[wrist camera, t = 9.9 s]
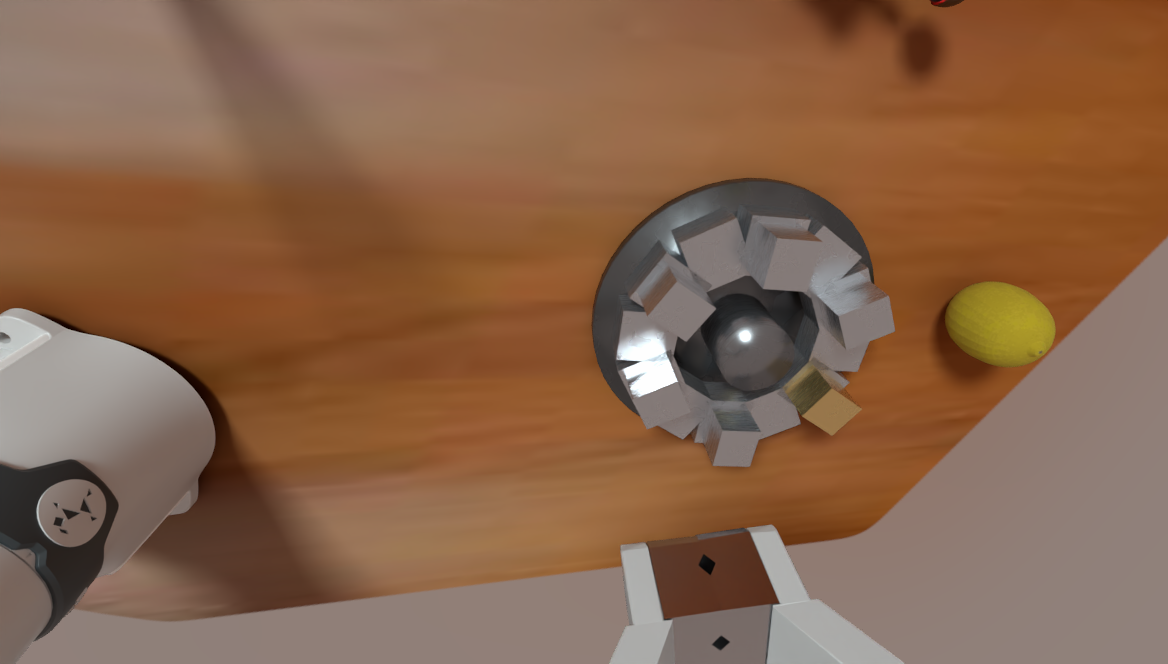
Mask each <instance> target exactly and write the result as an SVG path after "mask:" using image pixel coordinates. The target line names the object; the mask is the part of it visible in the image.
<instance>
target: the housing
mask: <svg viewBox="0 0 1168 664" xmlns="http://www.w3.org/2000/svg"><path fill="white" fill-rule="evenodd" d="M739 204H748V205H759V206H771V207H782V208H794V209H796V210H797V211H799V212H800V213H801V214H803V215H804V216H805V215H806V214H808V215H810V216H811V217H813V218H814V219H816V220H817V221H818V222H820V223H821V224H823V225H824V226H825V227H827V228H828V229H829V230H830V231H831V232H833V233H834V234H835V235H836V236H837V237H839V238H840V239H841V240H842V241H843V242H845V243H846V244H847V245H848V246H849V247H850V248H852V249H853V250H854V251H855V252H856V253H858V254H859V255H860V256H861V257H862V258H861V259H860V260H859V262H861V263H862V264H864V265H865V266H866V267H868V269H869V274H870V280H871V283H873V284H874V276H873V267H872V263H871V260H870V256H869V252H868V250H867V247H866V245H865V243H864V241H863V239H862V237H861V235H860V234H859V232H858V231H857V229H856V228H855V226H854V225H853V223H852V222H851V221H850V220H849V219H848V218H847V217H846V216H845V215H844V214H843V213H842V212H841V211H840V210H839V209H838V208H836V207H835V206H834V205H832V204H831V203H830V202H828V201H827V200H825V199H824V198H822V197H820V196H819V195H817V194H815V193H813V192H811V191H809V190H807V189H805V188H803V187H800V186H797V185H794V184H791V183H788V182H783V181H777V180H772V179H761V178H743V179H733V180H725V181H721V182H717V183H713V184H708V185H705V186H702V187H700V188H697V189H694V190H692V191H689V192H686V193H684V194H683V195H681V196H679V197H677V198H675V199H673V200H671V201H669V202H667V203H666V204H664V205H663V206H661V207H660V208H659V209H657V210H656V211H654V212H653V213H651V214H650V215H649V216H648V217H647V218H645V219H644V220H643V221H642V222H641V223H640V224H639V225H637V226H636V227H635V228H634V229H633V230H632V232H631V233H630V234H629V235H628V236H627V237H626V238H625V239H624V241H623V242H622V243H621V244H620V246H619V247H618V249H617V250H616V252H615V253H614V254H613V256H612V257H611V259H610V261H609V263H608V265H607V267H606V269H605V271H604V273H603V274H602V277H601V280H600V283H599V285H598V288H597V291H596V295H595V300H594V305H593V312H592V335H593V343H594V348H595V353H596V357H597V361H598V364H599V367H600V369H601V371H602V374H603V376H604V378H605V380H606V381H607V383H608V385H609V386H610V388H611V390H612V391H613V392H614V393H615V394H616V396H617V397H618V398H619V399H620V400H621V401H622V402H623V403H624V404H625V405H626V406H627V407H628V408H629V409H631V410H632V411H633V412H635V413H636V414H638V415H639V416H640V414H639V412H638V410H637V409H636V407H635V405H634V403H633V401H632V399H631V397H630V395H629V393H628V391H627V389H626V387H625V385H624V383H623V381H622V379H621V377H620V375H619V373H618V370H617V366H616V362H615V358H614V354H613V353H614V350H613V346H612V335H613V329H614V322H615V315H616V309H617V302H618V296H619V295H627V296H629V295H628V292H627V290H626V287H625V284H624V282H625V281H626V280H627V278H628V277H629V276H630V275H631V273H632V272H633V271H634V270H635V268H636V267H637V266H638V265H639V264H640V262H641V261H642V260H643V259H644V257H645V256H646V255H647V254H648V252H649V251H650V250H651V249H652V247H653V246H654V245H655V244H656V242H657V241H658V240H660V241H662V242H663V243H664V244H666V245H667V246H669V247H670V248H671V249H673V250H674V251H676V252H677V253H678V254H680V253H679V251H678V248H677V245H676V243H675V240H674V237H673V235H672V232H671V230H673V229H675V228H677V227H680V226H682V225H684V224H686V223H689V222H691V221H693V220H695V219H698V218H700V217H702V216H704V215H707V214H709V213H711V212H713V211H716V210H718V209H720V208H722V207H726V208H727V209H728V210H729V211H730V212H731V213H732V214H733V215H734V216H735V217H737V212H738V208H739ZM707 295H708V296H709V298H710V299H711V301H712V303H713V304H714V306H715V307H716V309H715V311H714V312H713V313H712V314H711V315H710V316H709V317H708V318H707V319H706V321H705V322H704V323H703V324H702V325H701V326H700V327H699V328H698V329H697V331H696V332H695V333H694V334H693V335H692V336H691V337H690V338H689V339H688V341H687V342H686V341H684V340H683V339H681V338H680V337H677V341H676V346H675V351H674V355H673V356H674V358H675V360H676V363H677V365H678V366H679V367H681V368H682V369H684V370H686V371H687V372H689V373H690V374H692V375H694V376H695V377H697V378H698V379H700V380H702V381H703V382H724V383H729V384H730V385H732V386H733V387H735V388H738V389H741V390H759V389H763V388H766V387H769V386H771V385H773V384H774V383H776V382H777V381H779V380H780V379H781V378H782V377H783V376H784V375H785V374H786V373H787V372H788V370H789V369H790V367H791V365H792V363H793V360H794V355H795V348H794V344H795V341H796V337H797V334H798V331H799V328H800V325H801V322H802V319H803V316H804V311H803V307H802V303H801V300H800V296H799V292H798V291H785V290H770V289H763V288H762V287H761V286H760V285H759V284H758V283H757V282H756V280H755V279H754V278H753V277H752V276H743V277H741V278H739V279H736V280H734V281H732V282H729V283H727V284H725V285H722V286H720V287H718V288H715V289H713V290H710V291H708V292H707ZM840 372H841V371H840ZM796 410H797V408H796ZM689 434H691V433H689Z"/></svg>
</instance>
